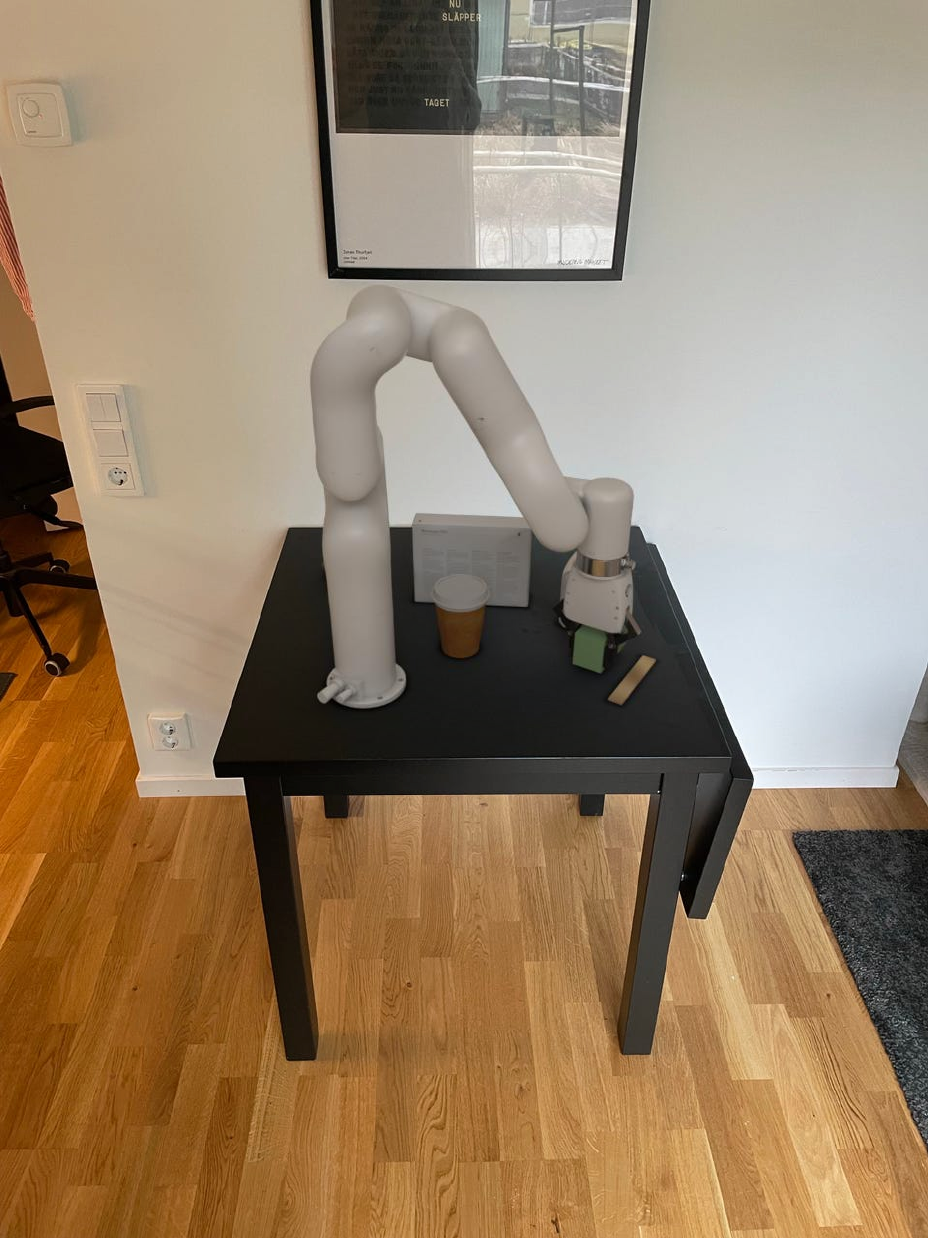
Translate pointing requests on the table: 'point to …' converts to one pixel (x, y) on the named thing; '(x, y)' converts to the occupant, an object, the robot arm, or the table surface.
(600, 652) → the green box
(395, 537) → the table surface
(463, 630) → the disposable coffee cup
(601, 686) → the table surface
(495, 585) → the skincare box
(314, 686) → the table surface
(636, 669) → the strip
